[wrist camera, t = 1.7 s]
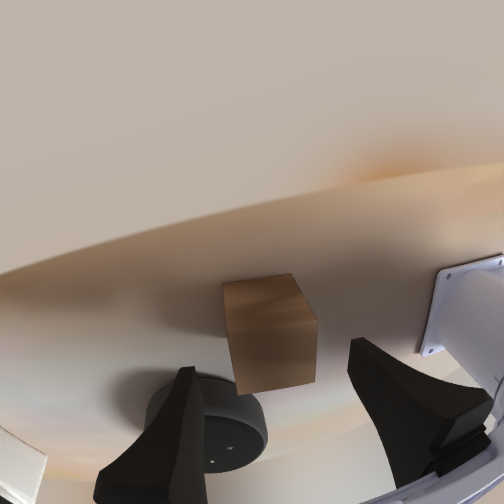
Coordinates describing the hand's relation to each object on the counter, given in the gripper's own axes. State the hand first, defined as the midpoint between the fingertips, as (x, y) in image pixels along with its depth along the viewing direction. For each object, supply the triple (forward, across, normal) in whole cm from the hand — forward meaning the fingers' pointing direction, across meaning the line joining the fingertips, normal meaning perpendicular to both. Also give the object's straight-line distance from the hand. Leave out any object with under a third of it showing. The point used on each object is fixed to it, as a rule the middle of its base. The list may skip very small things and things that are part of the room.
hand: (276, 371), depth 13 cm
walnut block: (+6, 0, 0) cm, 6 cm away
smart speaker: (+6, +5, +9) cm, 12 cm away
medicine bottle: (+6, +31, +18) cm, 37 cm away
